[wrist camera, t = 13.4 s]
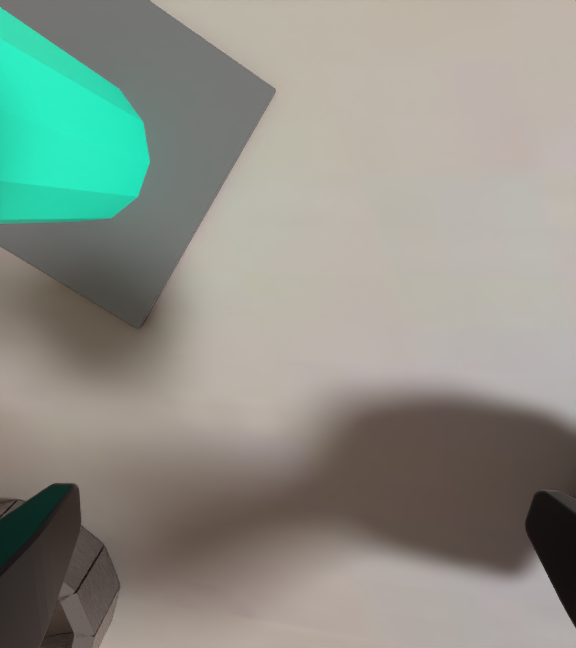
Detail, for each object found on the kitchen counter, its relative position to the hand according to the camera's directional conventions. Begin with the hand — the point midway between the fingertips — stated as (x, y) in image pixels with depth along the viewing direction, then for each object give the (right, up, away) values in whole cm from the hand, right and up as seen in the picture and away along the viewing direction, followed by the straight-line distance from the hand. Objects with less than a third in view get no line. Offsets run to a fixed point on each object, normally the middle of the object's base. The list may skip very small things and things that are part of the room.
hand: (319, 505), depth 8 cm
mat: (-9, +11, +10) cm, 18 cm away
